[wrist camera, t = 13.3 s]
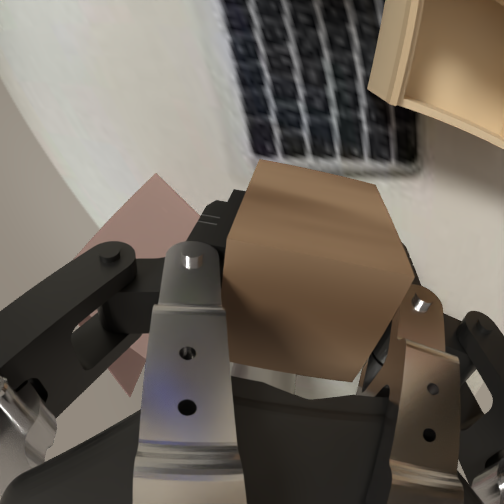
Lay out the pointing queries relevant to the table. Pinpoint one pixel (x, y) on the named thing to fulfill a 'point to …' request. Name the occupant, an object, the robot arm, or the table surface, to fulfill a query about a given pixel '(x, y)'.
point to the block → (310, 273)
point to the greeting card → (145, 250)
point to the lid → (502, 0)
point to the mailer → (444, 62)
